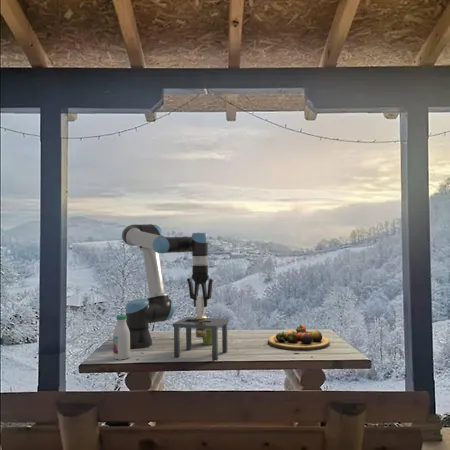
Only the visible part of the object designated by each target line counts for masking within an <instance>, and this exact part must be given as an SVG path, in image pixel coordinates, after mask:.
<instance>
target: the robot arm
mask: <svg viewBox="0 0 450 450" xmlns="http://www.w3.org/2000/svg"><path fill="white" fill-rule="evenodd" d="M163 233H164V232H163V230H162V228H161V227H160V226H159V225H157V224H153V223H149V224H146V223H145V224H130V225H128V226H126V227H125V228H124V229H123V231H122V233H121V239H122V241H123V243H124V244H126V245H128V246H131V247H132V246H133V247H136V246H138V247H139V251H141V253H142V255H143V263H144V268H145V276H146V282H147V289H148V297H146V298H136V299H132V300H129V301H128V302H127V303H126V305H125V315H126V324H127V326H128V328H129V332H130V349H141V348H142V349H143V348H148V347H151V346H152V345H153V339H152V336H151V333H150V330H149V329H150V328H149V325H150V324H153V323H159V322H165V321H170V320H171V319H172V318H173V317H174V315H175V308H176V307H175V302H174V300H173V299H172V298H169V294H168V293H166V290H165V285H164V278H163V277H164V276H163V270H162V266H161V265H162V264H161V258H160V254H170V253H174V254H175V253H192V255H191V260H192V261H191V262H192V263H191V264H192V267H191V268H192V274H191V276H190V277H189V278H186V281H187V283H188V290H189V299H190V300H193V307H195V315H197V296H199V292H200V290H199V289H200V286H201V291H202V292H201V293H202V295H203V300H202V314H204V315H205V314H206V312H207V311H206V309H207V308H206V307H208V300H210V299H212V291H213V283H214V281H215V279H214V278H211V277H210V276H209V266H208V263H209V255H208V253H209V246H208V245H209V243H208V242H209V241H208V234H207V233H206V232H192V234H191V236H173V237H172V236H171V237H170V236H168V237H167V236H164V234H163ZM193 282H194V283H193ZM207 282H208V284H207Z"/></svg>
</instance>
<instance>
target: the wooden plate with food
mask: <svg viewBox="0 0 450 450" xmlns="http://www.w3.org/2000/svg"><path fill="white" fill-rule="evenodd" d="M267 342H268V344H269V345H270V346H272V347H275V348H278V349H283V350H287V351H288V350H289V351H316V349H317V350H321V349H325V348H327V347H328V346H329V345H330V340H329V339H328V338H327V337H326V336H323V335H322V333H321V331H320V330H318V329H314V331H312V330H307V329H306V326H305V324H301V325H299V326H297V327H296V329H295V330H292V329H289V330H286V331H285V332H284V331H282V332H278V333H277V334H274V335H272V336H270V337H269V338H268V339H267Z"/></svg>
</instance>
